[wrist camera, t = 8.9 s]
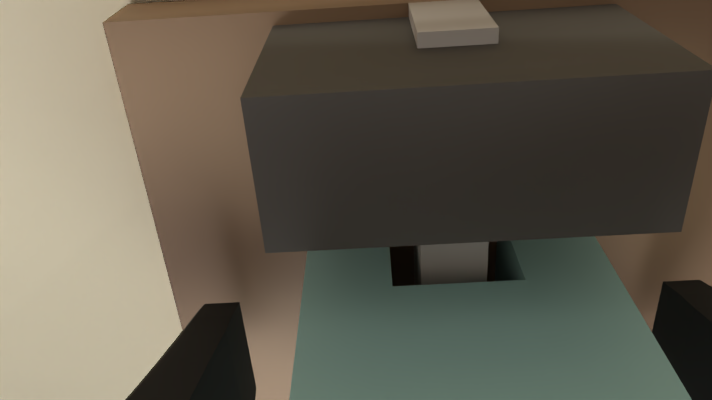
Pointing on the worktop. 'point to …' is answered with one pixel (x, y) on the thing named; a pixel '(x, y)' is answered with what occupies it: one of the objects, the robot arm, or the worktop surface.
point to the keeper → (477, 331)
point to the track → (220, 181)
